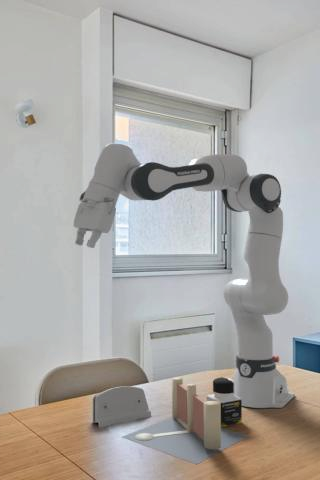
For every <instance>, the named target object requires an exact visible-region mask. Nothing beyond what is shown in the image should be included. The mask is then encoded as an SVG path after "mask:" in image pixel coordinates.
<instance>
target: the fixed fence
mask: <svg viewBox="0 0 320 480" xmlns="http://www.w3.org/2000/svg"><path fill="white" fill-rule="evenodd" d="M171 381H172V382H171V386H172V387H171V389H172V391H171V397H172V398H171V399H172V400H171V402H172V406H171V407H172V408H171V409H172V415H171V417H172V418H173V419H176V420H177V419H181V420H182V421H183V422H184V423H186V424H187V431H188V432H190V433H194V431H193V395H197V384H195V383H187V384H186V386H185V385H184V382H183V381H184V379H183V377H172V379H171Z"/></svg>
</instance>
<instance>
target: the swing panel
mask: <svg viewBox="0 0 320 480" xmlns="http://www.w3.org/2000/svg"><path fill="white" fill-rule="evenodd" d="M221 428H222V427H221V403H220V402H217V401H207V400H205V399H204V398H203V397H201V396H199V395H198V394H196V395H193V431H194V432H195V433H196V434H197V435H198V436H200V437H201V438H202V439H203V440H204V447H205V448H207V449H219V448H220V447H221Z"/></svg>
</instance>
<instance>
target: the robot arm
mask: <svg viewBox="0 0 320 480" xmlns="http://www.w3.org/2000/svg"><path fill="white" fill-rule="evenodd" d="M97 158H98V159H97V161H96V164H95V166H94V172H93V176H92V178H90V181H89V183H88V186H87V188H86V189H85V190H84V191H83V192H82V193H81V194H80V196H79V198H78V201H79V202H80V203H79V204H78V207H77V209H76V213H75V216H74V221H73V227H74V228H76V229H77V231H76V239H75V241H74V243H75V245H78V246H79V247H81V246H83V243H84V241H85V240H84V238H85V235H86V233H87V232H91V236H90V237H89V239H88V240H87V243H86V247H88V248H90V249H94V248H96V247H95V246H96V244H97V243H98V241H99V239H100V238H101V237H102V233H103V234H108V233H109V232H110V231H111V229H112V226H113V223H114V220H115V217H116V211H117V209H116V207H117V203H118V201H119V197H120V195H122V196H123V197H125V198H126V199H129V200H131V201H135V202H137V201H151V202H152V201H159V200H161V199H162V198H164V197H166V196H167V195H168V194H170V193H172V192H173V191H178V190H183V189H189V188H192V189H194V191H195V192H205V193H207V192H216V191H220V192H221V198H222V202H223V204H224V206H225V207H226V208H227V209H228V210H230V211H232V212H237V213H242V212H248V215H249V226H248V228H247V229H248V230H247V235H246V241H245V246H244V252H243V259H244V261H245V262H246V264H247V266H248V273H249V274H248V277H238V278H235V279H232V280H230V281H229V282H228V283H227V284H226V285H225V287H224V290H223V298H224V301H225V302H226V303H225V304H227V305H228V306H229V309H230V311H231V314H232V317H233V320H234V325H235V330H236V342H237V343H236V346H237V349H236V351H237V353H236V354H237V355H236V358H235V367H236V370H235V371H234V372H233V377H232V380H234V382H235V396H237V397H240V398H241V399H242V406H243V407H247V408H251V409H252V408H254V409H268V408H273V409H274V408H276V409H278V408H279V409H280V408H284V407H285V406H286V405H287V404H288V403H289V402H290V401H291V400H292V399H293V398H294V397H295V392H293V391H292V390H288V383H287V378H286V377H285V376H284V375H283V374H282V373H281V372H280V371H279V370H278V369H277V366H276V365H277V364H276V363H280V356H279V355H277V356H276V355H273V352H274V350H273V349H274V348H273V346H274V345H273V338H274V337H273V332H272V330H271V328H270V327H269V325H267V322H266V320H265V317H264V316H270V315H271V316H272V315H277V314H278V315H279V314H280V313H282V312H284V310H285V309H286V308H287V306H288V302H289V293H288V290H287V288H286V287H285V285H284V284H283V283H282V279H281V275H280V267H279V261H280V253H281V246H282V240H283V233H284V232H283V231H284V213H283V209H282V208H281V207H280V203H281V202H282V200H281V198H282V188H281V184H280V181H279V180H278V178H277V177H276V176H275V175H272V174H269V173H258V174H253V175H249V173H248V167H247V163H246V161H245V159H244V158H242V157H241V156H240V155H236V154H230V153H229V154H228V153H227V154H226V153H219V154H209V155H203V156H201V157H197V158H195V159H192V160H191V162H189V164H187V165H179V166H169V165H165V164H162V163H160V162H154V161H151V162H146V163H144V164H143V163H141V162H140V160H139V159H138V158H137V156H136V155H135V154H134V151H133V148H132V147H130V146H129V145H127V144H123V143H119V142H112V143H108V144H107V145H105V146H104V147H103V149H102V150H101V152H100V154H99V156H98V157H97Z"/></svg>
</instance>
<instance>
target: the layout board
mask: <svg viewBox="0 0 320 480" xmlns="http://www.w3.org/2000/svg"><path fill="white" fill-rule="evenodd" d="M248 437H249V435H248V434H243V433H241V432H238V431H234V430H230V429H226V428H223V427H221V447H220V448H219V449H207V448H205V447H204V440H203V439H202V438H201V437H200V436H198V435H197V434H196V433H195V432H194V433H190V432H188V431H187V424H186V423H184V422H183V421H182V420H181V419H177V420H176V419H173V418H172V416H171V417H168V418H166V419H162V420H161V421H158V422H156V423H153V424H151V425H149V426H146V427H143V428H140V429H138V430H136V431H133V432H130V433H128V434H125V435H122V436H121V438H123V439H125V440H128V441H131V442H134V443H137V444H140V445H141V446H145V447H147V448H151V449H153V450H156V451H159V452H161V453H163V454H166V455H170V456H172V457H174V458H177V459H181V460H183V461H186V462H188V463H191V464H194V465H199V464H200V463H202V462H204V461H205V460H207V459H210V458H212V456H215V455H216V454H218V453H220V452H222V451H223V450H226V449H228V448H230V447H232V446H233V445H235V444H237V443H238V442H240V441H242V440H244V439H246V438H248Z"/></svg>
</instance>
